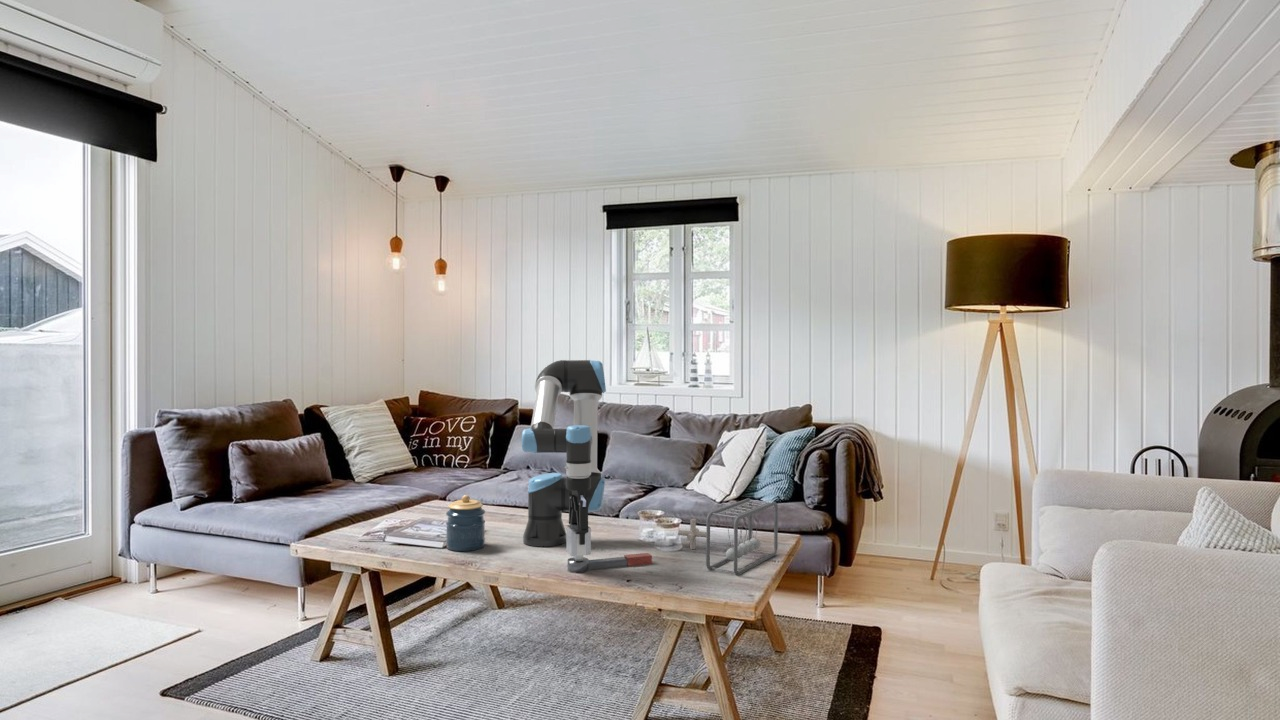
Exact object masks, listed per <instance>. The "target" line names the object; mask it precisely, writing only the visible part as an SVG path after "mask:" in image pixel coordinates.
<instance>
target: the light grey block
mask: <svg viewBox="0 0 1280 720" xmlns="http://www.w3.org/2000/svg"><path fill="white" fill-rule="evenodd" d="M565 526H566V528H565V531H566V542H565V543H566V546H565V547H566V552H567V553H568V554H569V555H570V556H571V557H573V556H577V534H575V532H578V529H577V525H570V524H567V525H565ZM591 528H592V527H590V526H589V525H588V533H586V555H585V556H589V555H592V554H591V553H592V551H591V550H592V549H591V548H592V544H591V543H592V536H591V535H592V529H591ZM579 556H580V555H579Z"/></svg>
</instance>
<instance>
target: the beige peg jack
mask: <svg viewBox="0 0 1280 720" xmlns="http://www.w3.org/2000/svg"><path fill="white" fill-rule="evenodd" d="M696 525H697V519H696V518H690V525H689V526H690V527H689V529H690V530H686V529H685V530H683V529H678V531H677V535H678V536H683V537H686V540H688V541H690V543H689V544H690V545H689V546H690V547H689V549H690V550H692V549H694V550H697V549H696V548H697V545H696V544H697V543H696V541H697V540H696V538H706V531H700V529H699V528H697V526H696Z"/></svg>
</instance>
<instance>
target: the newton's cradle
mask: <svg viewBox="0 0 1280 720" xmlns="http://www.w3.org/2000/svg"><path fill="white" fill-rule="evenodd" d="M753 502H757V503H763V504H759V505H758V506H757V504H756V503H753ZM753 505H756V506H754V507H753ZM743 506H748V507H747V509H746V508H744V507H743ZM778 506H779V505H778V503H777V502H776V501H772V502H769V501H761V500H756V499H755V500H754V499H751V498H749V497H748V498H745V499H743V500H740V501H737V502H734V503H732V504H729V505H726V506H724V507H723V506H722V507H720V508H717V509H714V510H711V511H710V512H709V513H707V516H706V530H705V532H706V539H705V541H706V548H705V549H706V551H705V553H706V555H705V556H706V557H705V559H706V561H705V562H706V563H705V565H706V568H707V569H708V570H709V569H711V570H718V571H724V572H729V573H733V574H734V575H737V576H740V575H741V574H743V573H745V572H747V571H749V570H750V569H753V568H754V567H756V566H757V565H760V564H761V562H762V563H763V562H766V561H767V560H769V559H771V558H772V556H773V557H774V556H776V554H777V552H778V547H779V546H778V541H779V540H778V535H779V534H778V532H779V531H778V530H779V529H778V528H779V526H778V524H779V520H778V519H779V517H778V515H779V511H778V510H779V509H778V508H779V507H778ZM771 507H774V510H773V514H774V517H773V518H774V519H773V520H774V522H773V527H774V528H773V534H774V535H773V550H772V552H768V551H762V550H757V549H759V548H760V546H761V541H760V539H758V538H757V535H755V537H754V536H753V535H754V532H753V531H754V530H753V527H754V524H753V523H754V522H755V518H753V517H755V516H756V513H759V514H758V517H760V515H761V511H763V510H765V509H766V510H767V509H768V508H771ZM739 508H741V509H742V511H741V513H740V512H739V510H738V509H739ZM744 509H745V510H744ZM733 510H735V511H736V512H735V515H733V512H732V511H733ZM727 512H728V513H731V515H728V514H727ZM723 513H725V514H723ZM713 515H714V516H719V517H725V518H726V521H728V518H731V519H732V521H733V522H732V526H733V546H732V543H731V541H729V545H730V548H729V549H727V550H726V552H725V556H726V558H723V559H722V560H719V561H717V562H715V563H714V564H713V563H712V564H711V518H712V516H713ZM727 517H728V518H727ZM746 517H747V518H748V521H747V523H748V524H747V525H746V524H742V526H741V524H740V523H739V522H740V520H742V519H743V520H742V523H746V520H745V519H746ZM733 518H735V519H733ZM759 521H760V518H758V521H757V523H759ZM726 525H727V528H729V524H728V522H726ZM744 526H745V527H744ZM758 526H759V524H757V526H756V528H759V527H758ZM738 528H741V529H738ZM743 528H745V536H744V541H741V540H743V538H742V537H743V536H742V535H740V537H739V535H738V534H739V532H740V534H742V532H743ZM729 530H730V529H727V532H728V533H727V534H730V532H729ZM757 532H758V529H756V533H755V534H757ZM738 537H739V538H738ZM728 538H729V540H731V537H730V535H728ZM739 539H740V540H739ZM746 539H747V540H746ZM738 540H739V541H738ZM753 552H756V553H757V552H758V553H763V554H767V555H765V556H764V557H762V558H760V559H757V560H755V561H754V562H752V563H750V564H748V565H746V566H745V567H743V568H740V569H739V570H738V563H739V562H738V559H740V558H742V557H743V556H746V555H748V554H749V553H753ZM729 560H730V561H733V570H727V569H723V568H719V566H722V565H723V563H724V564H726V563H727V561H728V562H730V561H729ZM725 562H726V563H725Z"/></svg>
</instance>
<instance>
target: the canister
mask: <svg viewBox="0 0 1280 720" xmlns="http://www.w3.org/2000/svg"><path fill="white" fill-rule="evenodd" d="M483 506H484V504H483V503H481V502H480V501H479V500H478V499H477V500H476V499H470V495H468V494H464V495H462V497H461V499H458V500H455V501H453V502H452V503H450V504H448V508H449V509H448V511H446V512H445V514H446V516H447V521H446V522H445V525H446V540H445V545H446V549H447V550H450V551H453V552H454V551H455V552H469V551H470V550H472V551H477V550H480V549H482V548H483V547H485V543H486V537H485V536H486V535H485V533H486V532H485V531H486V530H485V529H486V528H485V527H486V525H485V523H486V520H485V517H484V516H485V514H486V510H485V509H483ZM470 552H471V551H470Z"/></svg>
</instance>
